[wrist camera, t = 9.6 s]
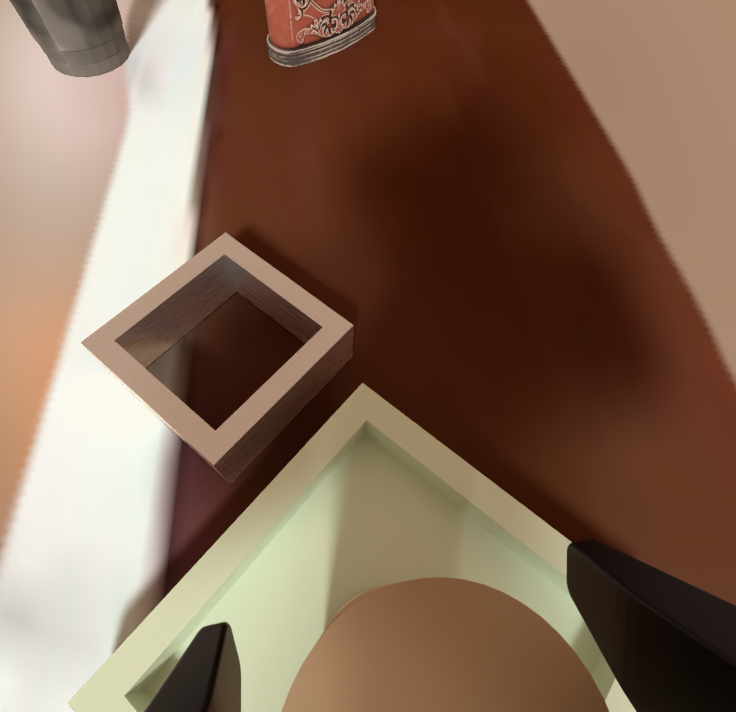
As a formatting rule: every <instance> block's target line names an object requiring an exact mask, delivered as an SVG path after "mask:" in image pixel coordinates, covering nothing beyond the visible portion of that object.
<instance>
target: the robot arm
mask: <svg viewBox="0 0 736 712" xmlns="http://www.w3.org/2000/svg"><path fill="white" fill-rule="evenodd" d="M566 581H567V588H568V591H569V594H570V596H571V598H572V600H573V602H574V604H575V605H576V607H577V609H578V611H579V613H580V615H581V616H582V618H583V620H584V622H585V624H586V626H587V627H588V629H589V631H590V633H591V635H592V636H593V638H594V640H595V642H596V644H597V646H598V647H599V649H600V651H601V653H602V655H603V657H604V658H605V660H606V662H607V664H608V666H609V668H610V669H611V671H612V673H613V675H614V677H615V678H616V680H617V682H618V683H619V685H620V687H621V689H622V690H623V692H624V693H625V695H626V696H627V698H628V700H629V701H630V703H631V704H632V706H633V707H634V709H635V710H636V712H736V606H735V605H733V604H731V603H729V602H727V601H725V600H723V599H721V598H718V597H716V596H714V595H712V594H710V593H708V592H706V591H703V590H701V589H699V588H697V587H695V586H693V585H691V584H689V583H686V582H684V581H682V580H680V579H678V578H676V577H674V576H671V575H669V574H667V573H665V572H663V571H661V570H659V569H657V568H654V567H652V566H650V565H648V564H646V563H644V562H642V561H639V560H637V559H635V558H633V557H631V556H629V555H627V554H625V553H622V552H620V551H618V550H616V549H614V548H612V547H610V546H607V545H605V544H603V543H601V542H599V541H597V540H594V539H585V540H580V541H576V542H572V543H570V544H569V545H568V547H567V575H566ZM144 712H241V667H240V660H239V656H238V652H237V648H236V645H235V641H234V637H233V633H232V629H231V626H230V624H229V623H227V622H221V623H216V624H212V625H208V626H204V627H202V628H201V629H200V630H199V631H198V632H197V634H196V635H195V637H194V638H193V640H192V641H191V643H190V644H189V646H188V647H187V649H186V650H185V652H184V653H183V654H182V656H181V657H180V659H179V660H178V662H177V663H176V665H175V666H174V668H173V669H172V671H171V672H170V674H169V675H168V676H167V678H166V679H165V681H164V682H163V684H162V685H161V687H160V688H159V690H158V691H157V693H156V694H155V696H154V697H153V698H152V700H151V701H150V703H149V704H148V706H147V707H146V709H145V710H144Z"/></svg>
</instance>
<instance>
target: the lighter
mask: <svg viewBox="0 0 736 712" xmlns="http://www.w3.org/2000/svg"><path fill="white" fill-rule="evenodd" d="M373 5H374V0H265V6H266V14H267V21H268V29H269V35H268V37H267V44H268V52H269V56H270V58H271V59H272V60H273V61H274V62H275V63H277V64H279V65H282V66H286V67H295V66H300V65H303V64H306V63H309V62H313V61H316V60H319V59H322V58H324V57H327V56H329V55H332V54H334V53H336V52H339V51H341V50H343V49H345V48H347V47H348V46H350V45H352V44H354V43H356V42H357V41H359V40H360V39H362V38H363V37H365V36H366V35H367V34H369V33H370V32H372V31H373V30H374V28H375V22H376V9H375V7H374V6H373Z"/></svg>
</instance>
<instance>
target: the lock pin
mask: <svg viewBox="0 0 736 712" xmlns="http://www.w3.org/2000/svg"><path fill="white" fill-rule="evenodd" d="M281 712H609V710H608V707H607V705H606V703H605V700H604V698H603V696H602V694H601V692H600V691H599V689H598V687H597V685H596V683H595V681H594V680H593V678H592V676H591V674H590V673H589V671H588V670H587V668H586V667H585V665H584V664H583V663H582V661H581V660H580V658H579V657H578V655H577V654H576V652H575V651H574V650H573V649H572V648H571V647H570V645H569V644H568V643H567V642H566V641H565V640H564V638H563V637H562V636H561V635H560V634H559V633H558V632H557V631H556V630H555V629H554V628H553V627H552V626H551V625H550V624H549V623H548V622H546V621H545V620H544V619H543V618H542V617H541V616H540V615H538V614H537V613H536V612H534V611H533V610H532V609H530V608H529V607H527V606H526V605H525V604H523V603H522V602H520V601H518V600H516V599H515V598H513V597H511V596H509V595H507V594H506V593H504V592H501V591H499V590H496V589H494V588H492V587H489V586H487V585H484V584H480V583H476V582H472V581H468V580H465V579H456V578H447V577H435V578H420V579H415V580H409V581H404V582H399V583H394V584H389V585H384V586H379V587H374V588H370V589H367V590H364V591H362V592H360V593H358V594H357V595H355V596H354V597H352V598H351V599H349V600H348V601H347V602H346V603H345V604H344V605H343V606H342V607H341V608H340V609H339V611H338V612H337V613H336V615H335V616H334V617H333V619H332V620H331V622H330V623H329V625H328V626H327V628H326V629H325V631H324V632H323V634H322V635H321V637H320V638H319V639H318V641H317V642H316V644H315V645H314V647H313V648H312V650H311V651H310V653H309V654H308V656H307V658H306V659H305V661H304V662H303V664H302V665H301V667H300V669H299V671H298V673H297V675H296V677H295V679H294V681H293V683H292V685H291V687H290V690H289V693H288V695H287V698H286V701H285V703H284V706H283V709H282V711H281Z"/></svg>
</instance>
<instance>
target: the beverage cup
mask: <svg viewBox="0 0 736 712" xmlns="http://www.w3.org/2000/svg"><path fill="white" fill-rule="evenodd" d="M10 1H11V3H12V4H13V6H14V8H15V9H16V11H17V12H18V14H19V16H20V17H21V19H22V20H23V22H24V23H25V25H26V27H27V28H28V30H29V31H30V33H31V35H32V36H33V37H34V39H35V40H36V41H37V42H38V43H39V45H40V46H41V48H42V49H43V51H44V52H45V53H46V55H47V56H48V58H49V60H50V62H51V64H52V65H53V66H54V68H55V69H56V70H58V71H60V72H61V73H63V74H66V75H70V76H74V77H91V76H97V75H101V74H105V73H107V72H110V71H113V70H114V69H116V68H118V67H119V66H121V65H122V64H123V63H124V62H125V61H126V60H127V58H128V55H129V52H130V51H129V47H128V44H127V41H126V38H125V34H124V30H123V26H122V19H121V15H120V12H119V9H118V6H117V2H116V0H10Z"/></svg>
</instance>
